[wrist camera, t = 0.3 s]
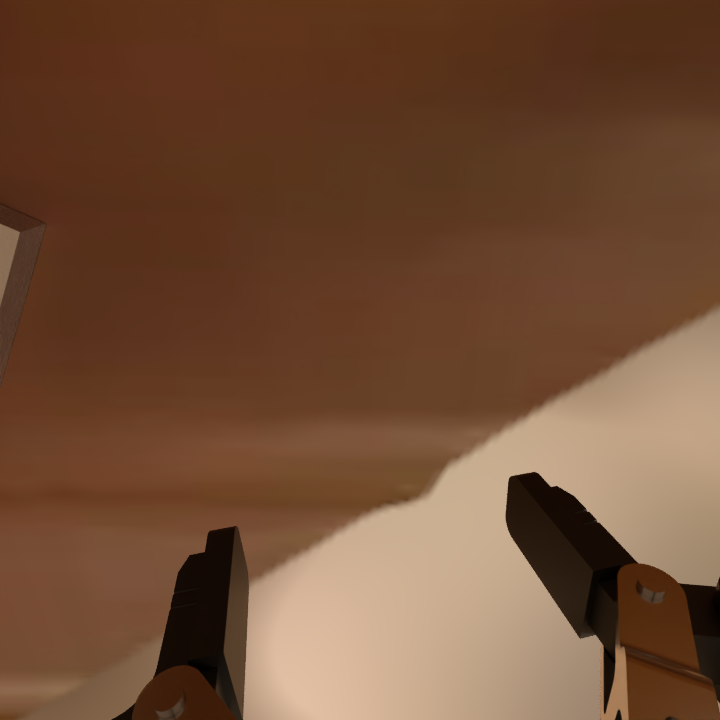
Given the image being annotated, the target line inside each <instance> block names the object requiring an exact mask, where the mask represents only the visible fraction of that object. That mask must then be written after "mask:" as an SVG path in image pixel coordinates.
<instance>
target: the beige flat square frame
mask: <svg viewBox="0 0 720 720" xmlns="http://www.w3.org/2000/svg"><path fill="white" fill-rule="evenodd" d="M45 227H46V224H45V223H43V222H41V221H38V220H36V219H34V218H31V217H29V216H27V215H25V214H22V213H20V212H18V211H15V210H13V209H11V208H9V207H6V206H4V205H2V204H0V385H1V382H2V378H3V374H4V371H5V367H6V364H7V360H8V357H9V353H10V350H11V346H12V343H13V339H14V336H15V332H16V329H17V325H18V322H19V318H20V315H21V311H22V308H23V304H24V301H25V297H26V294H27V290H28V287H29V283H30V280H31V276H32V273H33V269H34V266H35V262H36V259H37V255H38V251H39V248H40V244H41V241H42V237H43V234H44V230H45Z"/></svg>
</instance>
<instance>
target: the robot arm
mask: <svg viewBox="0 0 720 720" xmlns="http://www.w3.org/2000/svg"><path fill="white" fill-rule="evenodd" d="M506 523H507V527H508V530H509V533H510V535H511V537H512V538H513V540H514V541H515V543H516V544H517V546H518V547H519V549H520V550H521V552H522V553H523V555H524V556H525V558H526V559H527V561H528V562H529V564H530V565H531V567H532V568H533V570H534V571H535V572H536V574H537V575H538V577H539V578H540V580H541V581H542V583H543V584H544V586H545V587H546V589H547V590H548V592H549V593H550V595H551V596H552V598H553V599H554V601H555V602H556V604H557V605H558V607H559V608H560V610H561V611H562V613H563V614H564V616H565V617H566V618H567V620H568V621H569V623H570V624H571V626H572V627H573V629H574V630H575V632H576V633H577V635H578V636H579V638H584V637H589V636H593V635H596V636H597V637H598V638H599V640H600V641H601V643H602V647H601V663H600V664H601V666H600V668H601V669H600V677H601V678H600V679H601V680H600V720H720V712H719V707H718V703H717V700H718V702H719V703H720V578H719V580H718V583H717V586H716V587H712V586H701V585H689V584H680V583H678V582H677V581H676V580H675V579H673V578H672V577H671V576H670V575H668V574H666V573H665V572H663V571H662V570H660V569H657V568H655V567H653V566H650V565H646V564H639V563H637V562H636V561H635V560H634V559H633V557H631V555H630V554H629V553H628V552H627V551H626V550H625V549H624V548H623V547H622V546H621V545H620V544H619V543H618V542H617V541H616V540H615V539H614V538H613V536H612V535H611V534H610V533H609V532H608V531H607V530H606V529H605V528H604V527H603V526H602V525H601V524H600V523H597V520H596V519H595V518H594V517H593V515H592V514H591V513H590V512H587V510H586V508H585V507H584V506H583V505H582V504H581V503H580V502H579V501H578V500H577V499H576V498H575V497H574V496H573V495H571V494H570V493H568V492H566V491H564V490H563V489H561V488H559V487H558V486H555V487H550V486H549V485H548V484H547V482H546V481H545V480H544V479H543V478H542V477H541V476H540V475H539V474H538V473H536V472H532V473H526V474H521V475H515V476H511V477H510V478H509V482H508V493H507V505H506ZM248 596H249V581H248V571H247V565H246V560H245V556H244V551H243V547H242V543H241V538H240V534H239V530H238V527H237V526H234V527H228V528H223V529H218V530H212V531H209V533H208V536H207V542H206V548H205V552H204V553H198V554H193V555H190V556H189V557H188V559H187V560H186V562H185V563H184V565H183V566H182V568H181V569H180V571H179V572H178V576H177V580H176V585H175V589H174V595H173V598H172V602H171V610H170V611H169V616H168V620H167V625H166V629H165V633H164V638H163V642H162V647H161V651H160V656H159V661H158V665H157V669H156V672H155V675H154V677H153V679H152V680H151V681H150V682H149V683H148V684H147V685H146V687H145V688H144V689H143V690H142V692H141V693H140V695H139V697H138V699H137V701H136V703H135V704H134V705H132V707H130V708H129V709H128V710H126V711H125V712H124V713H122V714H120V715H119V716H117V717H116V718H114V719H112V720H243V706H244V704H243V703H244V682H245V662H246V640H247V617H248Z"/></svg>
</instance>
